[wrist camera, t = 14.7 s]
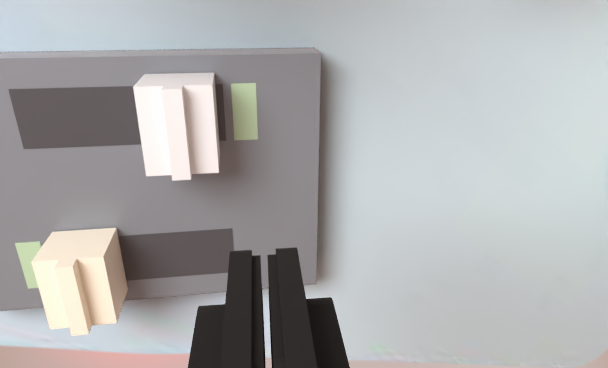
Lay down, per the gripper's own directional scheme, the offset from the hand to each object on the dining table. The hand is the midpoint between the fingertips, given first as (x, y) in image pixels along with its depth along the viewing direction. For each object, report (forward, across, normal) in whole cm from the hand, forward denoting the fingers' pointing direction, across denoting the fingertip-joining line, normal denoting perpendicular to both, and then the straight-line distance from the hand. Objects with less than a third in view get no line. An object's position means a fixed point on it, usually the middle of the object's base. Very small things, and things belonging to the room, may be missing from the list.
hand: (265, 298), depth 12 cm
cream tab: (+18, +12, +10) cm, 24 cm away
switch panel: (+21, +8, +5) cm, 23 cm away
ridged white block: (+19, +4, 0) cm, 19 cm away
